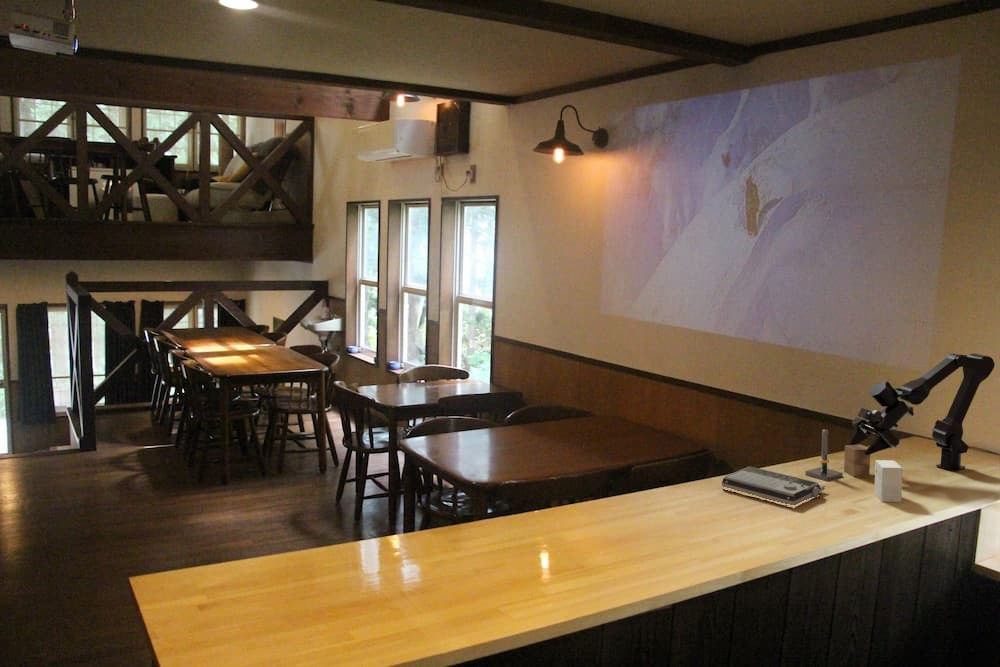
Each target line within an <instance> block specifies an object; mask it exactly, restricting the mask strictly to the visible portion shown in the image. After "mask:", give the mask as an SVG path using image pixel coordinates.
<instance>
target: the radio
mask: <svg viewBox="0 0 1000 667" xmlns="http://www.w3.org/2000/svg"><path fill="white" fill-rule="evenodd" d="M722 486H723V487H727V488H731V489H734V490H737V491H741V492H745V493H748V494H752V495H756V496H759V497H762V498H765V499H769V500H773V501H777V502H781V503H785V504H790V505H796V504H798V503H800V502H802V501H804V500H807V499H809V498H812V497H815V499H817V498H818V497H817V496H818V495H821V492H822V491H825V489H826V488H825V487H826V486H825V485H823V484H819V482H817V481H813V480H808V479H805V478H801V477H800V478H799V477H797V476H792V475H787V474H784V473H780V472H775V471H770V470H767V469H762V468H758V467H755V466H747V467H745V468H742V469H739V470H737V471H735V472H732V473H728V474H727V475H724V477H723V478H722V481H721V487H722ZM816 497H817V498H816Z"/></svg>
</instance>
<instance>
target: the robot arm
mask: <svg viewBox="0 0 1000 667" xmlns="http://www.w3.org/2000/svg"><path fill="white" fill-rule="evenodd" d="M995 363H996V362H995V361H994V359H993V358H992V357H991V356H987V355H984V354H983V355H982V354H979V353H973V352H972V353H970V354H968V355H966V354H958V353H955V352H954V353H951V352H950V353H948V355H947V356H946V357H945V358H944V359H943V360H941V361H940V362H939V363H938V364H936V365H935V366H934V367H932V368H931V369H929V371H927V372H926V373H925V374H923V375H922V376H921V377H919V378H917V379H913V380H910V381H908V382H906V383H904V384H902V385H901V386H899V387H896V388H894V387H893V386H892V385H891V383H890V382H889V381H887V380H882V382H879V383H876V384H874V385H872V387H870V389H869V393H868V394H869V395H870V396H871V397H872V398H873V400H875V401H876V403H877V404H878V405H879V406H880V407H882V408H884V409H883V410H882V411H880V410H877V409H874V410H869V409H867V408H865V407H862V406H861V408H860V409H859V412H858V413H857V417H855V418H853V419H852V421H851V423H852V426H853V430H854V431H853V434H852V437H851V438H850V441H849V443H848V445H859V444H860V443H862V442H863V441H865V440H866V439H869V436H871V435H873V434H874V440H873V441H872V442H871V444H870V445H869V446H868V447H867V450H866V451H865V453H864V454H865V455H870V456H871V455H872V454H875V453H877V452H880V451H884V450H888V449H892V448H895V449H896V448H897V447H898V446H899V445H900V442H901V441H900V438H898V437H897V435H896V434H895V433H894V432H893V431H892V429H893V428H896V429H897V428H898V427H899V424H898V423H899V422H900V421H901V420H902V419H903V417H905V415H909V416H914V415H915V413H914V407H912V406H910V405H908V404H911V405H914V406H918V405H921V404H922V403H923V402H924V401H925V400H926V399H927V398H928V397H929V396H930V393H931V391H932V390H933V389H934V388H935V387H936V386H937V385H939V384H940V383H941V382H942V381H943V380H945V379H946V378H948V377H950V375H952V374H954V372H956V371H957V370H958V369H959V368H962V374H963V379H962V381H961V382H960V385H959V388H958V390H957V392H956V394H955V396H954V399H953V401H952V404H951V405H950V407H949V410H948V412H947V414H946V416H945V418H944V419H943V418H942V420H939V419H937V420H936V421H935V423H934V424H935V425H934V426H933V428H932V429H931V431H932V434H931V437H932V439H933V441H934V442H935V446H936V447H938V448H941V450H940V451H941V452H940V454H941V455H940V463H939V464H936V465H935V467H936V466H937V467H936V468H939V467H941V468H940V469H943V468H944V469H945V470H948V471H951V472H952V471H953V472H958V471H960V470H963V469H965V468H966V465H961V464H962V454H964V453H965V454H966V453H968V450H969V445H968V444H967V443H966V442H965V441H964V440H963V436H964V429H963V428H964V426H963V423H964V420H965V418H966V416H967V413H968V411H969V409H970V406H971V404H972V402H973V399H974V398H975V395H976V393H977V391H978V389H979V387H980V384H981V383H983V381H985V380H986V379H988V378H989V377H990V375H991V374H992V372H993V370H994V369H995ZM944 469H943V470H944Z"/></svg>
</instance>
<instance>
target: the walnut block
mask: <svg viewBox="0 0 1000 667" xmlns="http://www.w3.org/2000/svg"><path fill="white" fill-rule="evenodd" d="M867 448H868V447H866V446H865V445H863V444H857V445H849V444H848V445H844V462H843V463H844V464H843V465H844V469H843V472H844V473H846V474H847V475H849V476H851V477H852V478H855V477H854V476H861V477H867V476H866V475H869V476H870V469H871V468H870V466H871V454H870V455H865V454H864V453H865V451H866V450H867Z"/></svg>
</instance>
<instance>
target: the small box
mask: <svg viewBox="0 0 1000 667" xmlns="http://www.w3.org/2000/svg"><path fill="white" fill-rule="evenodd" d="M902 492H903V467H902V466H901V465H900V464H899V463H898V462H897V461H896V460H890V459H889V460H884V459H883V460H882V459H877V460H875V464H874V494H875V496H876V497H877V496H878V497H877V498H878V499H879V500H880V501H881V502H883V503H902V495H903V494H902Z"/></svg>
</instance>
